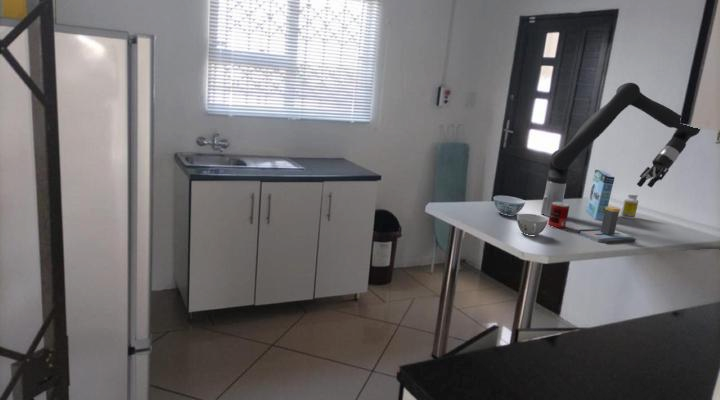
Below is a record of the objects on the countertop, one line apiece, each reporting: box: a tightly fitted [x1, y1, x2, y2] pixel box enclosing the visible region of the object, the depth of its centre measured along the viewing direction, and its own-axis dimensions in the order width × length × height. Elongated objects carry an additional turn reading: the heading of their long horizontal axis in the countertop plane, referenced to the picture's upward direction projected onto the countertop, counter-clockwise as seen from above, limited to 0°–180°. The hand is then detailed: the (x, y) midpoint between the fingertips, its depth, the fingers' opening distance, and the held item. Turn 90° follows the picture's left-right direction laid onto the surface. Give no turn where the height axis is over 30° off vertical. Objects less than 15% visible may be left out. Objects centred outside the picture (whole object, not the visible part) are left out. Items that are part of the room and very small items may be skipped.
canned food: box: [547, 201, 570, 229], centre depth 242 cm, size 8×8×11 cm
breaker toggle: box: [600, 206, 621, 235], centre depth 231 cm, size 4×4×12 cm
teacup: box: [516, 213, 549, 236], centre depth 222 cm, size 15×12×8 cm
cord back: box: [578, 228, 601, 234], centre depth 239 cm, size 18×1×1 cm, turn 114°
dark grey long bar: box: [603, 237, 637, 245], centre depth 226 cm, size 18×1×1 cm, turn 114°
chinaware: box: [493, 195, 526, 216], centre depth 255 cm, size 15×15×8 cm
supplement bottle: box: [620, 192, 639, 220], centre depth 275 cm, size 7×7×13 cm
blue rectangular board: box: [579, 229, 634, 243], centre depth 232 cm, size 22×10×2 cm, turn 114°
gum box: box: [585, 169, 615, 222], centre depth 270 cm, size 20×5×23 cm, turn 170°
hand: (643, 186), depth 239 cm, fingers open, 8 cm apart
